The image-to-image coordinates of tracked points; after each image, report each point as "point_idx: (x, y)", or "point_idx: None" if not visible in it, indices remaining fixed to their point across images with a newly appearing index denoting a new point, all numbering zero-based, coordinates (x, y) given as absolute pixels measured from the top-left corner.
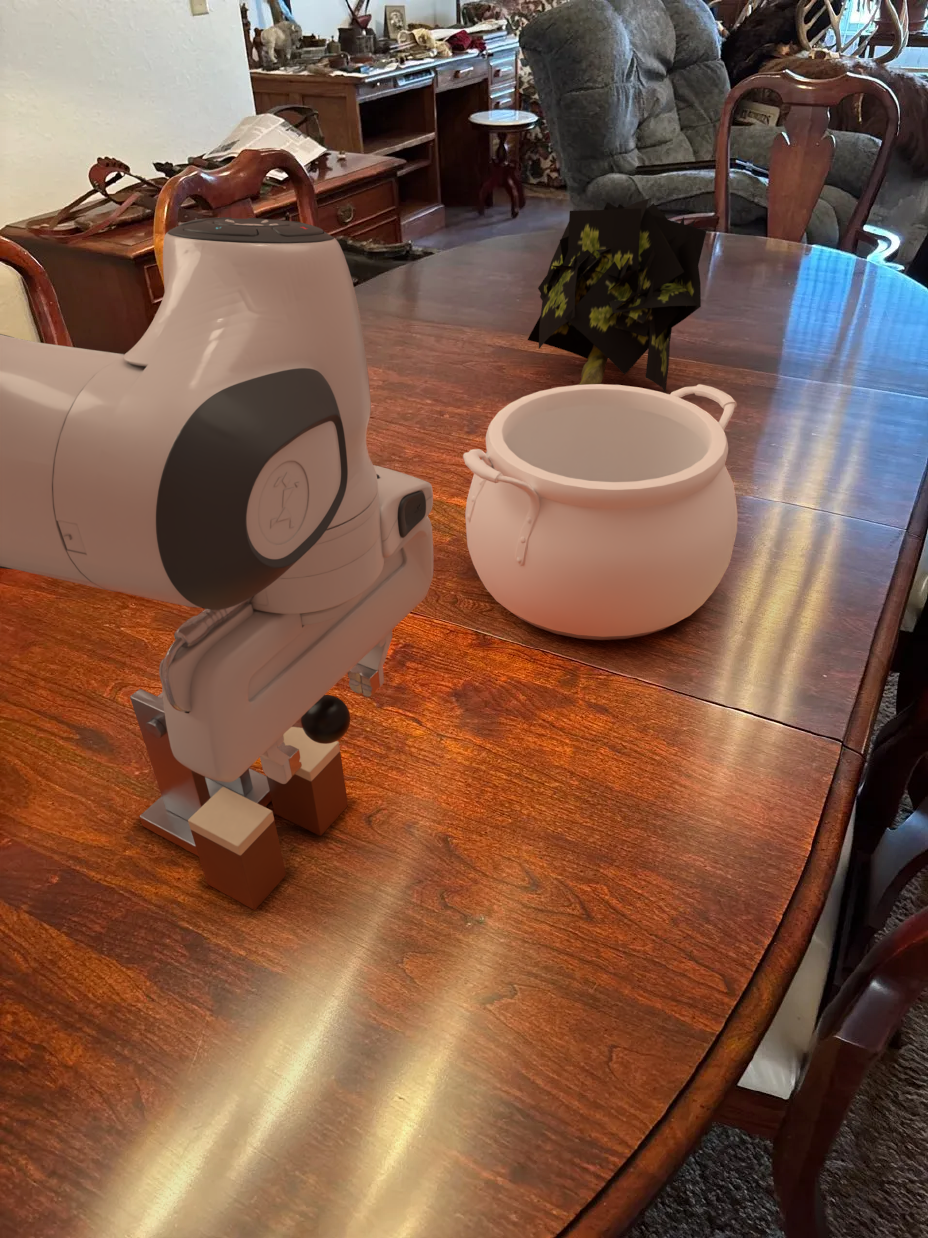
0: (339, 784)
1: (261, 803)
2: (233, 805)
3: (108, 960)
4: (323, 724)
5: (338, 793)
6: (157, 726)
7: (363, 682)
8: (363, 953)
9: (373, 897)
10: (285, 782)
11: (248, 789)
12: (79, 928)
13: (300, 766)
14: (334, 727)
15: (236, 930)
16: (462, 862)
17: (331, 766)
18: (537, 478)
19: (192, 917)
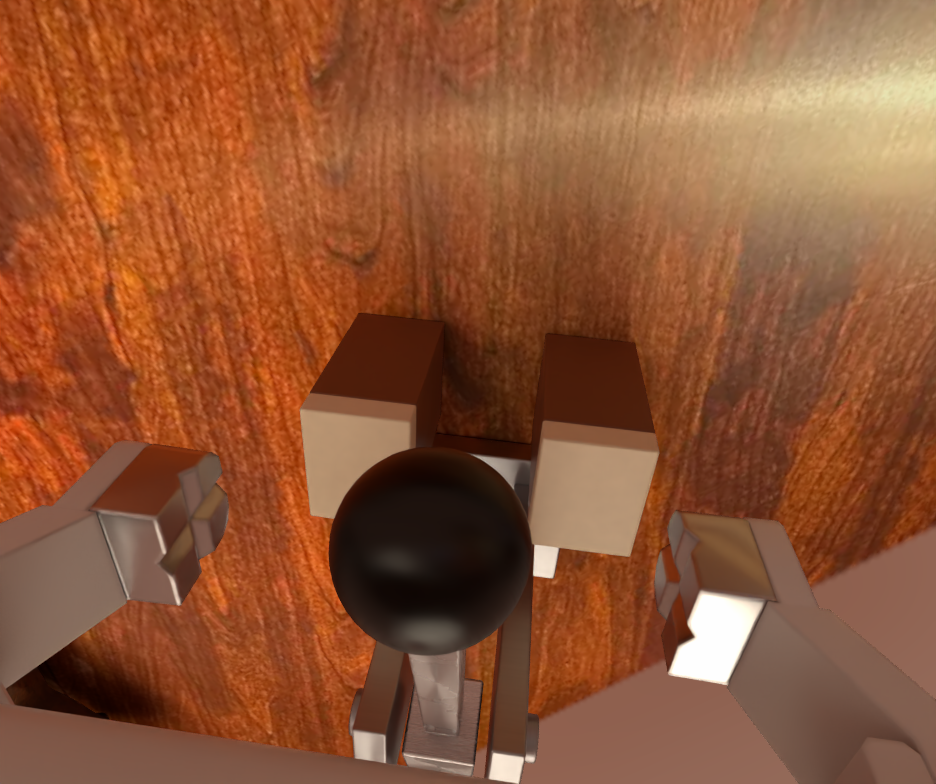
0: (353, 350)
1: (441, 444)
2: (562, 507)
3: (789, 483)
4: (501, 561)
5: (366, 341)
6: (532, 746)
7: (184, 519)
8: (654, 102)
9: (523, 155)
10: (779, 525)
11: None
12: None
13: (693, 519)
14: (480, 513)
15: (681, 349)
16: (354, 8)
17: (350, 387)
18: None
19: (679, 421)
